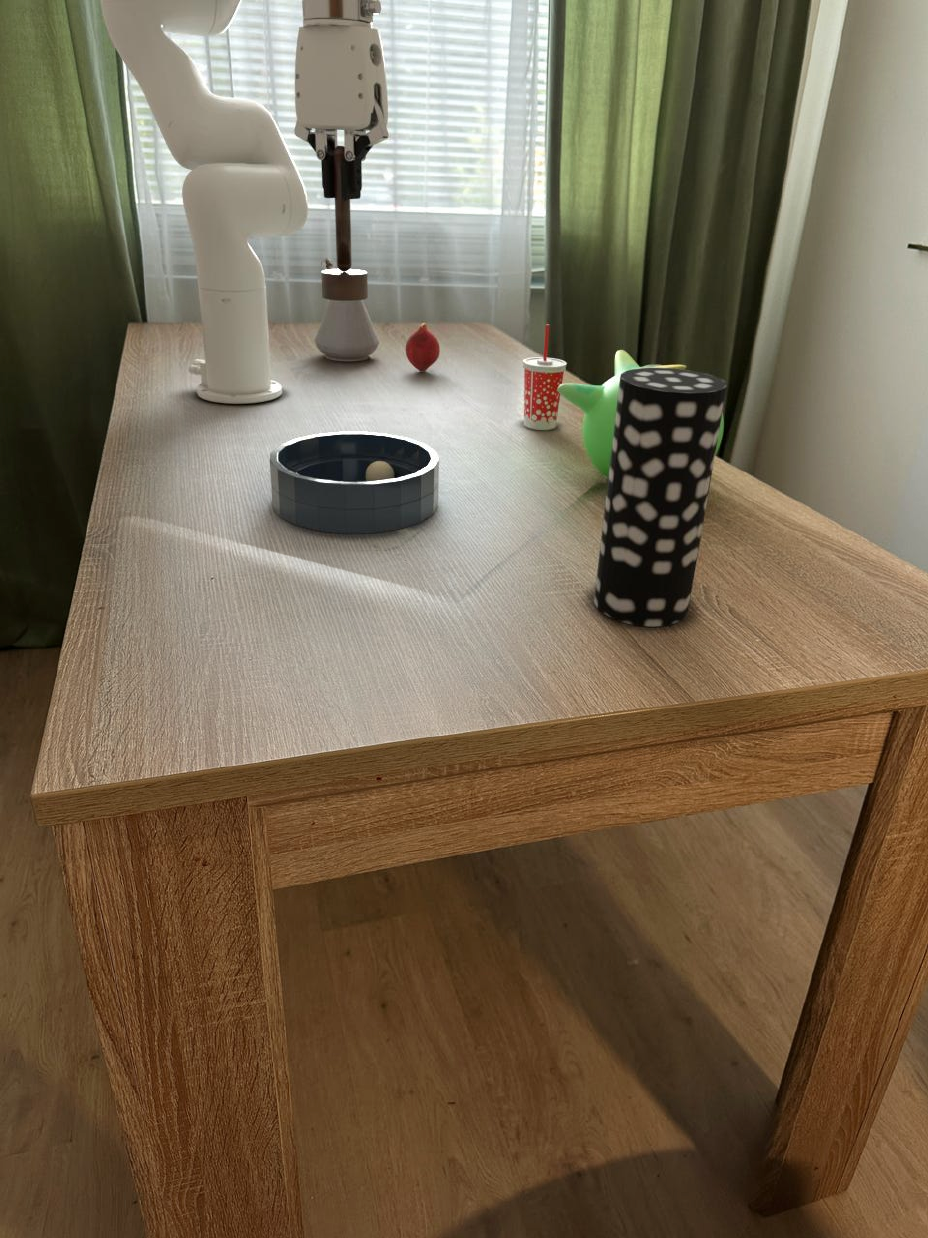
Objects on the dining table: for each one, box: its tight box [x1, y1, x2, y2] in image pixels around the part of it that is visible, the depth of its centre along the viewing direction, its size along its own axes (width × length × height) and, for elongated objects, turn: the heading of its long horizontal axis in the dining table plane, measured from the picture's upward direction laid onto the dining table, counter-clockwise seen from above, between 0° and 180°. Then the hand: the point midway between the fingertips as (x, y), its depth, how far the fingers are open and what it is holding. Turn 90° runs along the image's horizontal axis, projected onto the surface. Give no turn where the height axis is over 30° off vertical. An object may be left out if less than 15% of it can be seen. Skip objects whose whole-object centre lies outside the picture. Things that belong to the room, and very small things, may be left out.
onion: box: [405, 322, 441, 373], centre depth 157 cm, size 6×6×8 cm
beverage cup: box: [522, 323, 568, 431], centre depth 129 cm, size 6×6×14 cm
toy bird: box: [558, 349, 725, 479], centre depth 108 cm, size 18×17×15 cm
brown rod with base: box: [320, 144, 369, 301], centre depth 110 cm, size 6×6×17 cm
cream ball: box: [366, 461, 394, 482], centre depth 103 cm, size 3×3×3 cm
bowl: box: [269, 431, 440, 535], centre depth 99 cm, size 18×18×6 cm
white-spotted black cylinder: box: [593, 368, 728, 627], centre depth 77 cm, size 8×8×20 cm
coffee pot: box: [314, 258, 380, 362], centre depth 167 cm, size 21×12×15 cm, turn 20°
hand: (342, 196), depth 109 cm, fingers closed on brown rod with base
